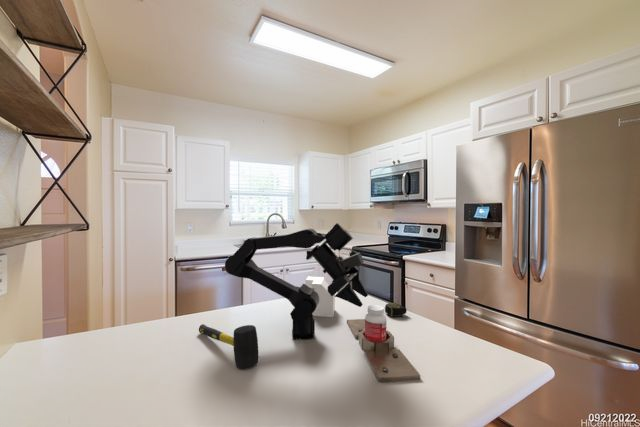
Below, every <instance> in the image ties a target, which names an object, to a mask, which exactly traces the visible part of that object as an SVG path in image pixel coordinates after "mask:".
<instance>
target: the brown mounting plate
mask: <svg viewBox="0 0 640 427" xmlns="http://www.w3.org/2000/svg"><path fill="white" fill-rule="evenodd" d="M346 323H347V326H348V328H349V329H350V331H351V333H352V335H353V338H354V339H358V344H359V346H360V348H361V349H362V351H363V356H364V358H365V359H366V361H367V363H368V365H369V366H370V368H371V370H372V372H373V373H374V376H375V377H376V379H377V381H378V383H388V382H389V383H390V382H400V381H404V382H405V381H415V380H418V381H419V380H421V374H420V373H419V372H418V370H417V369H416V368H415V367H414V365H413V364H412V363H411V362H410V361H409V359H408V358H407V357H406V355H405V354H404V353H403V352H402V351H401V349H399V348H397V349H395V336H394V335H393V334H392V333H391V331H389V330H386V341H372V340H369V339H366V338H365V318H359V319H346Z"/></svg>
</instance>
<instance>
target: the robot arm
mask: <svg viewBox="0 0 640 427" xmlns="http://www.w3.org/2000/svg"><path fill="white" fill-rule="evenodd" d="M353 239H354V237H353V236H352V235H351V233H349V231H348V230H347V229H345V228H344V227H342V225H340V224H339V223H338V222H337V223H335V225H333V226H332V228H331V229H330V230H329V231H328V232H327V233H322V232H321V233H320V232H317V231H316V230H315V229H313V228H305V229H302V230H299V231H296V232H292V233H291V232H290V233H289V234H280V235H269V236H261V237H255V236H254V237H250V238H246V240H245V241H244V243H242V245H241V246H240V247H239V249H237V250H236V251H235V252H234V253H233V254H232V256H230V257H228V258H227V259H226V260H225V262H224V268H225V272H226V273H227V274H228V275H230V276H233V277H238V278H242V279H249V280H251V281H253V282H254V283H257V284H259V285H261V286H262V287H263V288H265V289H268V290H270V291H271V292H274V293H275V294H277V295H279V296H281V297H283V298H284V299H286V300H288V301H289V303H290V304H291V305H292V306H293V309H292V310H291V311H290V318H291V320H292V329H291V338H292V340H295V341H296V340H312V339H314V338H315V337H314V335H315V332H316V331H315V329H316V328H315V326H316V325H315V324H316V321H315V318H314V316H313V315H312V313H313V312H314V311H315V309H316V307H317V305H318V303H319V296H318V293H317V292H315V291H314V288H310V287H308V286H307V285H306V283H302V284H301V286H296V285H293V284H291V283H290V282H288V281H286V280H284V279H282V278H280V277H278V276H276V275H274V274H273V273H270V272H269V271H266V270H265V269H263V268H261V267H259V266H258V265H257V264H256V262H255V261H254V260H253V258H254V256H255V254H256V252H257V250H264V249H265V250H267V249H274V248H276V249H277V248H283V247H284V248H286V247H289V248H290V247H291V248H296V249H310V248H312V247H313V246H314V247H313V248H312V249H311V250H307V251H305V252H306V258H305V259H306V261H307V260H311V259H312V258H314V260H315V261H316V262H317V263H318V265H320V267H322V269H323V270H322V273H323V274H328V276H329V277H330V278H331V279H332V280H331V283H330V284H328V285H329V286H328V292H329V294H330V295H331V296H333V295H334V294H335V298H338V299H341V300H343V301H346V302H348V303H350V304H352V305H355V306H357V307H359V308H361V307H362V306H363V303H362V301H361V299H360V298H359V297H358V295H357V293H358V294H359V295H360V296H363V297H364V298H366V297H368V296H369V294H368V291H367V290H366V287H365V286H364V285H363V283H362V282H363V281H362V280H361V271H360V267H359V266H362V265H363V263H364V259H363V254H361V253H360V252H357V251H356V250H354V251H350V252H349V256H348V257H345V258H343V257H342V256H340V255H339V256H338V255H337V254H336V253H335V252H334V251H341V250H342V249H344V248H345V246H347V244H349V243H350V242H351V241H352V240H353ZM322 242H323V243H322ZM320 243H321V245H320Z"/></svg>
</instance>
